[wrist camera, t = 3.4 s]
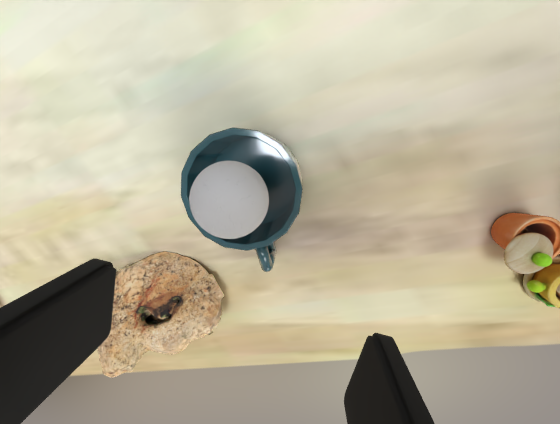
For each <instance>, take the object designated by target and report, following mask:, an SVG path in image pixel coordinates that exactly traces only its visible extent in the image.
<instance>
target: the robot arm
mask: <svg viewBox="0 0 560 424" xmlns="http://www.w3.org/2000/svg"><path fill="white" fill-rule="evenodd" d="M115 279H116V269H115V268H113V265H112V263H111V262H107V261H103V260H99V259H91V260H89V261H88V262H86V263H84V264H82V265H80V266H78V267H76V268H74V269H72V270H71V271H69V272H67V273H65V274H63V275H61V276H59V277H57V278H56V279H54V280H52V281H50V282H48V283H46V284H44V285H42V286H41V287H39V288H37V289H35V290H33V291H31V292H29V293H27V294H26V295H24V296H22V297H20V298H18V299H16V300H14V301H12V302H11V303H9V304H7V305H5V306H3V307H1V308H0V424H21V423H22V422H23V420H25V419H26V417H28V415H30V414H31V413H32V412H33V411H34V410H35V409H36V408H37V407H38V406H39V405H40V404H41V403H42V402H43V401H44V400H45V399H46V398H47V397H48V396H49V395H50V394H51V393H52V392H53V391H54V390H55V389H56V388H57V387H58V386H59V385H60V384H61V383H62V382H63V381H64V380H65V379H66V378H67V377H68V376H69V375H70V374H71V373H72V372H73V371H74V370H75V369H76V368H77V367H79V366H80V365H81V364H82V363H83V362H84V361H85V360H86V359H87V358H88V357H89V356H90V355H91V354H92V353H93V352H94V351H95V350H96V349H97V348H98V347H99V346H100V345H101V344H102V343H103V342H104V341H105V340H106V339H107V337H108V336H109V334H110V331H111V324H112V313H113V301H114V290H115ZM344 405H345V411H346V417H347V423H348V424H434V422H433V420H432V417H431V415H430V413H429V411H428V409H427V407H426V405H425V403H424V401H423V399H422V397H421V395H420V393H419V391H418V389H417V387H416V385H415V382H414V380H413V378H412V376H411V374H410V372H409V370H408V368H407V366H406V364H405V362H404V360H403V358H402V356H401V354H400V351H399V349H398V347H397V345H396V343H395V341H394V339H393V338H392V337H390V336H386V335H382V334H378V333H374V334H373V336H368V337H367V339H366V342H365V344H364V347H363V349H362V352H361V354H360V357H359V359H358V362H357V365H356V367H355V370H354V372H353V374H352V377H351V380H350V382H349V385H348V387H347V390H346V393H345V397H344Z"/></svg>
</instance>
